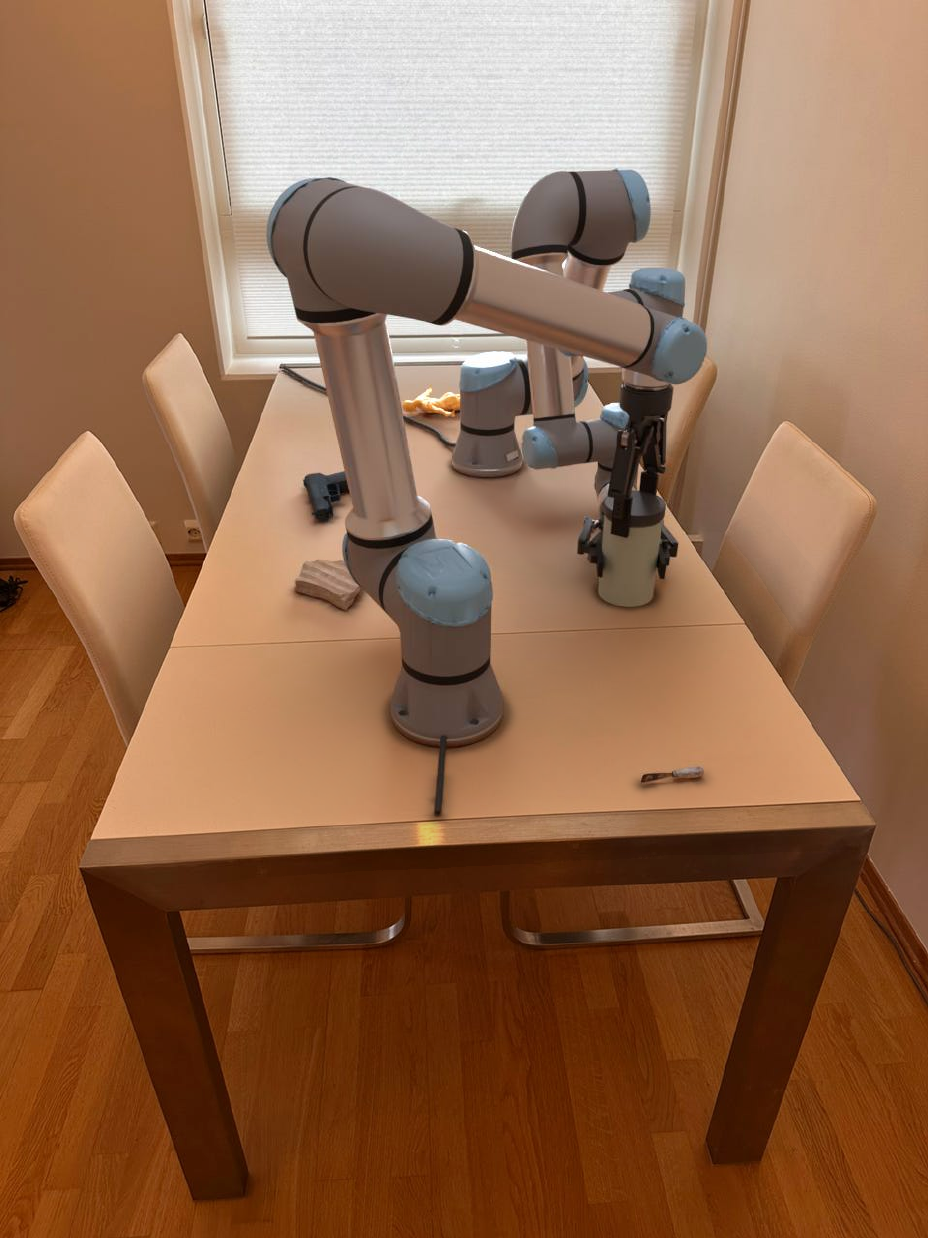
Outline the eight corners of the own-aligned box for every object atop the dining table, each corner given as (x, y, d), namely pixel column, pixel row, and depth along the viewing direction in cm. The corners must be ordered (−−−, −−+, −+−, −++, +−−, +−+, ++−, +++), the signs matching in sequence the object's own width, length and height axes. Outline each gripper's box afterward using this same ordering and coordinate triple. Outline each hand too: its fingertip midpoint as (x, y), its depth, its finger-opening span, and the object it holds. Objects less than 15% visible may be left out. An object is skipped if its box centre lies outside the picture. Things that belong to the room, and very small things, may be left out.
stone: (382, 577, 152) (381, 564, 151) (347, 611, 143) (346, 598, 142) (316, 564, 157) (314, 551, 155) (279, 596, 147) (277, 583, 146)
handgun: (374, 516, 173) (312, 524, 171) (359, 480, 188) (302, 487, 185) (373, 501, 172) (311, 508, 169) (358, 466, 186) (300, 472, 183)
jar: (607, 609, 144) (615, 521, 135) (591, 582, 151) (598, 496, 143) (661, 604, 145) (672, 516, 136) (642, 577, 152) (652, 492, 144)
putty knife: (703, 777, 109) (705, 767, 109) (642, 788, 108) (644, 777, 107) (700, 772, 110) (702, 762, 109) (639, 782, 109) (640, 771, 108)
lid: (665, 528, 136) (666, 517, 135) (601, 523, 137) (602, 513, 136) (664, 502, 143) (665, 492, 143) (604, 498, 145) (605, 488, 144)
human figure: (395, 413, 223) (394, 398, 221) (438, 390, 237) (438, 375, 235) (462, 429, 215) (462, 413, 213) (502, 404, 229) (503, 388, 227)
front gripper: (641, 408, 120) (626, 556, 131) (699, 367, 135) (681, 502, 147) (590, 399, 123) (580, 544, 135) (652, 360, 139) (638, 493, 151)
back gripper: (679, 530, 161) (698, 593, 142) (558, 527, 162) (561, 589, 143) (684, 492, 157) (705, 551, 138) (560, 489, 158) (563, 547, 139)
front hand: (632, 522), depth 141 cm, fingers closed on lid, 9 cm apart
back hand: (631, 570), depth 141 cm, fingers closed on jar, 9 cm apart
